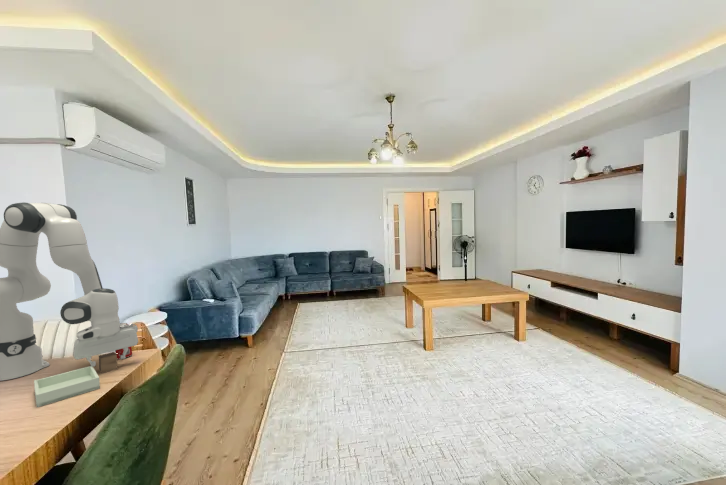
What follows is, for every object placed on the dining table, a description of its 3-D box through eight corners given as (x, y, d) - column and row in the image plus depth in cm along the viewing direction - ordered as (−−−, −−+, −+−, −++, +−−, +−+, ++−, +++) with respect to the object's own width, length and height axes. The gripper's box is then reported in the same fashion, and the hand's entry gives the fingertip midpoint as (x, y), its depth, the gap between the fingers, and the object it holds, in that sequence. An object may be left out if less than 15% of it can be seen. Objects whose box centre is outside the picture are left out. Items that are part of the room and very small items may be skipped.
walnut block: (99, 370, 127) (98, 355, 127) (114, 366, 131) (114, 351, 131) (101, 373, 124) (100, 358, 124) (117, 369, 128) (116, 354, 127)
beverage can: (135, 354, 143) (133, 322, 142) (123, 360, 136) (121, 326, 136) (123, 354, 144) (121, 321, 143) (110, 360, 137) (108, 326, 137)
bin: (34, 391, 111) (33, 380, 110) (92, 375, 122) (91, 365, 122) (36, 407, 100) (36, 395, 100) (99, 388, 112) (99, 377, 112)
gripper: (135, 321, 136) (137, 352, 137) (71, 334, 121) (74, 369, 122) (139, 323, 132) (141, 356, 133) (73, 337, 117) (76, 373, 118)
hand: (108, 362), depth 127 cm, fingers open, 8 cm apart
